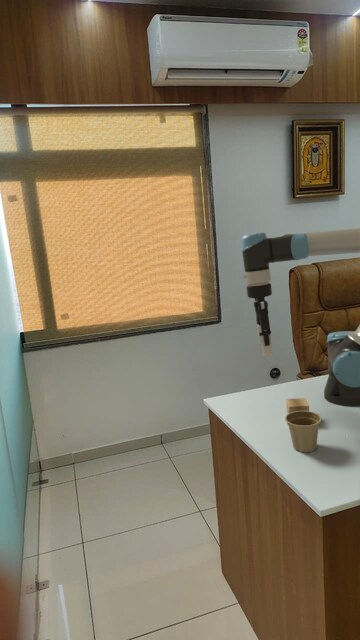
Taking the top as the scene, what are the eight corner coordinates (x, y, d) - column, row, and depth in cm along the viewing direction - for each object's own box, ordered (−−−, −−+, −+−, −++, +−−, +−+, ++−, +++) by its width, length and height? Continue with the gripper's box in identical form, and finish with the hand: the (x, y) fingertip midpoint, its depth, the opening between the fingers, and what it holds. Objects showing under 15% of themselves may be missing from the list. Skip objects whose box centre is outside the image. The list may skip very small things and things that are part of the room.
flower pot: (298, 459, 108) (297, 428, 106) (280, 443, 117) (278, 415, 115) (329, 450, 110) (328, 420, 108) (309, 436, 119) (308, 408, 117)
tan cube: (306, 415, 132) (305, 398, 131) (310, 424, 126) (309, 405, 125) (287, 416, 133) (286, 399, 132) (289, 425, 127) (288, 406, 126)
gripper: (244, 281, 141) (251, 341, 145) (249, 290, 117) (257, 362, 121) (266, 278, 140) (272, 338, 144) (275, 287, 116) (283, 359, 120)
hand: (265, 349), depth 132 cm, fingers open, 13 cm apart
